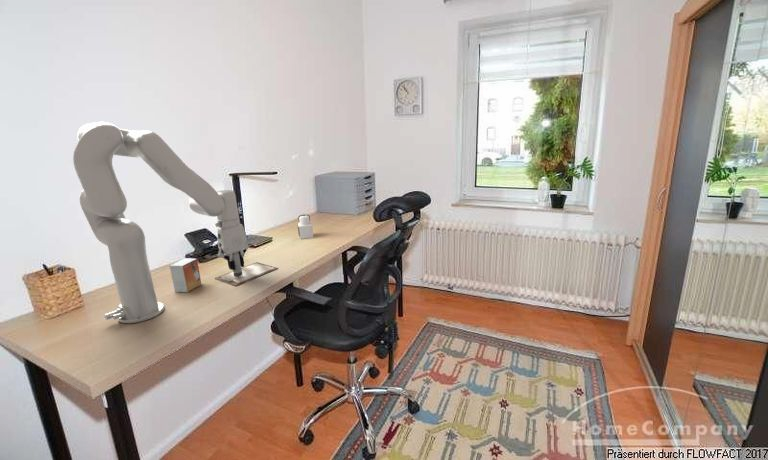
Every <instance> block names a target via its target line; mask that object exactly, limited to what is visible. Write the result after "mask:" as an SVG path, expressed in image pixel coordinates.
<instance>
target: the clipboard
mask: <svg viewBox="0 0 768 460" xmlns="http://www.w3.org/2000/svg"><path fill="white" fill-rule="evenodd" d="M241 268H242V275H241V276H238V277H235V276H234V273H233V270H231V271H230V272H227V273H224V274H221V275H219V276H217V277H214V280H217V281H220V282H222V283H225V284H228V285H230V284H231V285H230V286H233V285H234V286H233V287H237V286H240V285H243V284H244V283H247V281H248V282H249V281H253V280H255V279H257V278H260V277H262V276H263V275H266V274H269V273H271V272H274V271H277V270H278V269H279V268H278V267H276V266H272V265H270V264H269V265H268V264H264V263H261V262H257V261H255V262H253V263H250V264H248V265H246V266H245V265H244V267H241ZM242 283H243V284H242Z"/></svg>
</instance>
